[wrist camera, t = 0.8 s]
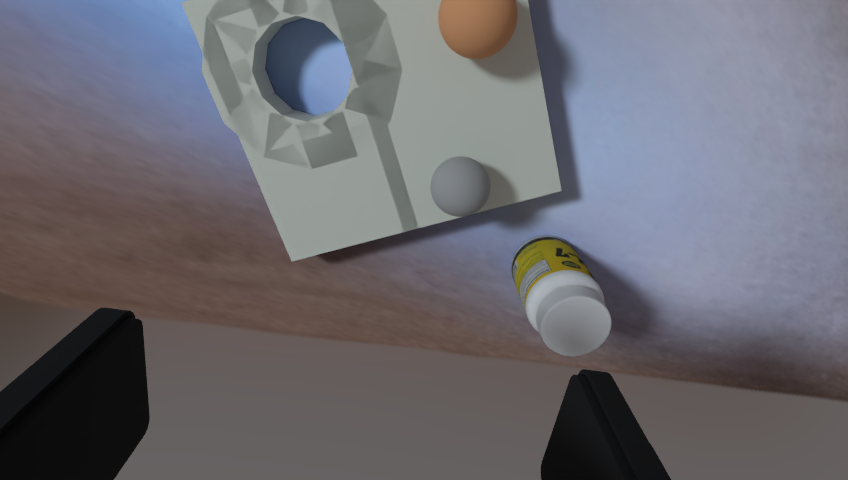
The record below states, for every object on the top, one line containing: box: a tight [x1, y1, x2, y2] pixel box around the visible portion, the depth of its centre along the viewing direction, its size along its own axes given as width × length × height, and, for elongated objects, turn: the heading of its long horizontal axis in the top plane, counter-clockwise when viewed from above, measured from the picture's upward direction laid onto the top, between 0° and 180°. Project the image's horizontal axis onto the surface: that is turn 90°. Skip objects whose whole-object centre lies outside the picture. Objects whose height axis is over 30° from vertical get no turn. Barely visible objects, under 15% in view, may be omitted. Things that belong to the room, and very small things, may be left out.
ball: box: [438, 0, 518, 59], centre depth 25 cm, size 4×4×4 cm
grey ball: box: [430, 156, 491, 217], centre depth 28 cm, size 4×4×4 cm
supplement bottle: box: [511, 235, 611, 356], centre depth 31 cm, size 5×5×8 cm
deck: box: [182, 0, 562, 261], centre depth 29 cm, size 18×16×2 cm
